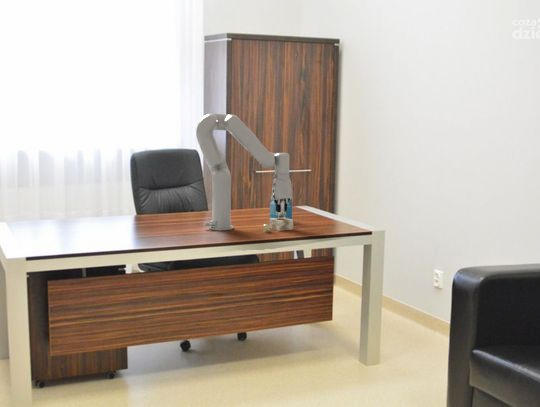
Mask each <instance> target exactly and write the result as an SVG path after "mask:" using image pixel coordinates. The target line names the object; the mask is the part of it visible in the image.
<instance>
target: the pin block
mask: <svg viewBox="0 0 540 407" xmlns="http://www.w3.org/2000/svg"><path fill="white" fill-rule="evenodd" d="M269 224H270V230H275V231H278V232H282V231H289V230H294V219H293V218H292V219H288V218H285V217H284V218H271V219H270V218H269Z"/></svg>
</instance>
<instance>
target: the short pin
mask: <svg viewBox="0 0 540 407" xmlns="http://www.w3.org/2000/svg"><path fill="white" fill-rule="evenodd" d="M270 231H271V228H270V223H263V231H262V232H263V233H265V234H268V233H271V232H270Z"/></svg>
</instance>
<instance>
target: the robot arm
mask: <svg viewBox="0 0 540 407" xmlns="http://www.w3.org/2000/svg"><path fill="white" fill-rule="evenodd" d="M195 129H196V130H195V132H196V133H195V135H196V139H197V143H198V145H199V148H200V151H201V153H202V155H203V159H204V161H205V163H206V165H207V167H208V169H209V171H210V173H211V174H210V175H211V191H212V192H211V193H212V194H211V199H212V200H211V202H212V205H211V206H212V207H211V208H212V213H211V214H212V215H211V216H212V218H211V219H210V221H207V222H206V221H205V222H203V226H204V227H209V228H208V229H209V230H212V231H217V232H218V231H233V229H234V228H235V227H234V226H233V225H232V221H231V216H232V215H231V209H232V207H231V203H232V202H231V200H232V198H231V193H232V192H231V191H232V189H231V187H232V185H231V184H232V176H231V171H230V169H229V167H228V166H229V165H228V164H227V161H226V158H225V156H224V155H223V154H224V153H223V152H222V151H221V150H220V148H219V146H218V144H217V142H216V138H215V136H214V131H227V132H228V133H229V134H230V135H231V136H233V138H234V139H235V140H236V141H237V142H238V143H239V144H240V145H241V146H242V147H243V148H244V149H245V150H246V151H247V152H249V154H251V156H252V157H253V158H254V159H255V160H256V161H257V162H258V163H259V164H260V165H261V166H262V167H263V168H264V169H265V168H266V169H271V168H272V167H274V174H273V175H272V177H273V178H274V179H273V182H272V185H271V186H272V187H271V196H270V201H271V202H272V201H274V203H275V204H276V212H281V205H280V199H285V212H287V204H288V202H289V201H291V200H292V199H293V198H294V197H293V188H292V187H293V185H292V181H291V179H290V154H289V153H287V152H270V151H269V150H268V149H267V148H266V147H265V146H264V144H263V143H262V142H261V141H260V140H259V138H258V137H257V135H256V134H255V133H254V132H253V131H252V130H251V129H250V128H249V127H248V126H247V125H246V123H244V122H243V121H242V120H241V119H240V118H239V116H237V115H235V114H225V113H224V114H223V113H221V114H220V113H207V114H205V115H204V116H203V117H202V118H201V119H200V120H199V122H198V124H197V127H196V128H195Z"/></svg>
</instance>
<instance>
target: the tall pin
mask: <svg viewBox="0 0 540 407" xmlns="http://www.w3.org/2000/svg"><path fill="white" fill-rule="evenodd" d="M280 205H281V212H278V217H279V218H284V217H285V199H280Z"/></svg>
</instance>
